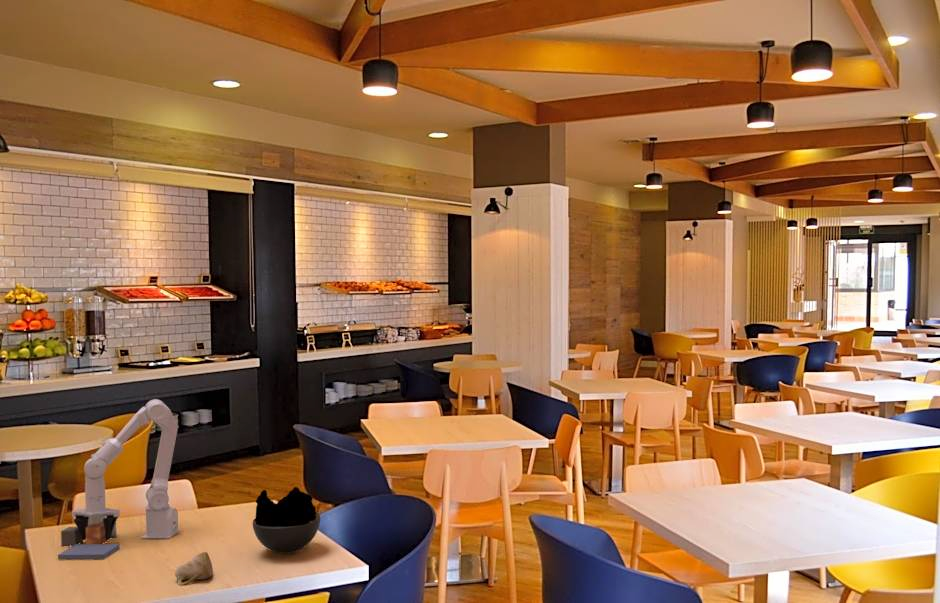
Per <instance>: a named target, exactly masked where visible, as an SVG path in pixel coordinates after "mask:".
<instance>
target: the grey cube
mask: <svg viewBox="0 0 940 603" xmlns="http://www.w3.org/2000/svg"><path fill="white" fill-rule="evenodd" d="M99 524H104V522H103V521H102V522H100V523H99ZM114 537H115V538H117V521H116V522H115V524H114V527H113V530H112V535H111V538H113V539H115V538H114Z"/></svg>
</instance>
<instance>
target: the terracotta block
mask: <svg viewBox="0 0 940 603" xmlns="http://www.w3.org/2000/svg"><path fill="white" fill-rule="evenodd" d="M105 542H107V543H108V540H106V539H105V526H104V524H91V525H90V526H88V527H86V539H85V544H103V543H105ZM105 544H106V543H105Z"/></svg>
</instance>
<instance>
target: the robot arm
mask: <svg viewBox="0 0 940 603" xmlns="http://www.w3.org/2000/svg"><path fill="white" fill-rule="evenodd" d="M151 421H152V422H154V423H155V424H157V425H158V427H159V428H160V429H161V435H160V440H159V444H158V450H157V455H156V460H155V467H154V470H153V471H154V472H153V476H152V479H151V482H150V486H149V487H148V489H147V491H146V493H145V498H146V501H147V503H148V504H147V506H146V507H145V525H146V526H145V528H146V533H145V534H144V535H142V536H141V537H140V538H141V539H170V538H172V537H173V536H175V535H176V534H178V533H179V532H180V529H179V515H178V514H179V512H178V510H177V508H176V507H175V508H174V507H170V504H169V501H170V499H169V494H168V488H169V476H170V471H171V468H172V461H173V457H174V449H175V446H176V439H177V436H178V435H177V434H178V430H179V429H178V427H179V426H178V423H177V421H176V419H175V417H174V415H173V413H172V411H171V409H170V408H169V407H168V406H167V405H166V404H165V403H164V402H163V401H162V400H160V399H157V398H154V399H150V400H149V401H148V402H147V403H146V404H145V406H142V407H141V408H140V409H139V410H138V411H137V412H136V413H135V414H134V415H132V418H130V420H129V421H128V422H127V423H126V424H125V426H124V427H123V428H122V429H121V430H120V432H119V433H118V434H117V435H116V436H115V437H114V438H108V439H107V440H103V441H102V443H101V445H102V446H101V447H99V449H98V450H97V451H96V452H95V453H92V454H91V456H90V457H91V458H89V459H88V460H87V461H85V464H84V467H83V469H84V470H83V471H84V473H85V477H84V481H85V483H84V490H85V491H84V494H85V495H84V496H85V498H84V499H85V508H83V509H74V510H72V511H71V517H72V518H74V519H73V523H74V524H75V526H76V527H78V529H79V531H80V534H81V537H82V540H83V541H86V527H88V520H89V517H91V516H105V518H104V519H103V522H104V526H105V539H106V540H107V541H109V540H111V539H110V538H111V535H112V530H113V527H114V524H115V522H116V523H117V521H118V518H119V516H120V509H118V508H116V509H115V508H108V507H107V506H106V482H105V478H104V476H105V472H106V467H109V466H111V463H113V462H114V460H115V459H117V458H118V456H119V455H121V453H122V452H123V451H124V446H123V445H124V444H125V443H126V442H127V441H128V440H129V439H130V437H132V436H133V435H134V434H135V432H136V431H138V429H139V428H140V427H141V426H145V425H148V424H151Z"/></svg>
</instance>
